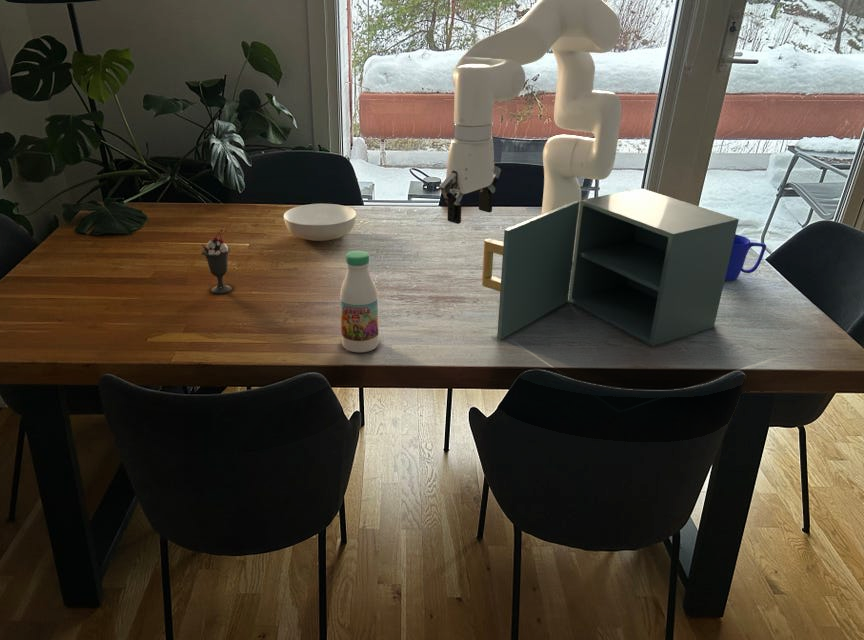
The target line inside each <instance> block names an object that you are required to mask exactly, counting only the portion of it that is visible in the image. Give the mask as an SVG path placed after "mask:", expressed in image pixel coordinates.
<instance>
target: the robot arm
mask: <svg viewBox="0 0 864 640" xmlns="http://www.w3.org/2000/svg"><path fill="white" fill-rule="evenodd" d="M621 30H622V29H621V21H620V18H619V15H618V14H617V13H616V11H615V10H614V9H613V8H611V6H610V5H609V4H608V3H606V2H605V0H538V1H536V3H535V4H534V5H533V6H532V7H531V8H530V9H529V10H528V12H526V14H524V15H523V17H521V18H520V19H519V21H518V22H517V23H516V24H514V25H512V26H510V27H507V28H505V29H502V30H500V31H497V32H496V33H493V34H491V35H488V36H485V37H484V38H482V39H479V40H478V41H477V42H475V43H474V44H473V45H471V46H470V48H469V49H468V50H467V51H466V52H464V54H463V55H462V56H461V57H460V59H458V61H457V64H456V66H455V68H454V71H453V75H452V83H453V87H454V93H453V94H454V97H453V98H454V99H453V102H454V103H453V107H454V108H453V140H451V141H450V144H449V149H448V153H447V154H448V156H447V160H446V161H447V162H446V173H445V179H444V180H443V181H442V183H441V184H439V190H440V192H441V194H442V195H441V197H442V199H444V200H445V203H447V222H449V223H453V224H457V225H459V224H461V223H462V204H461V200H462V199H463V197H464V195H465V194H469V193H472V192H475V191H478V190H479V193H478V210H479V211H482V212H485V213H492V212H493V200H494V193H495V192H496V186H497V184H498V183H499V178H500V175H501V171H502V169H501V168H500V167H498V166H496V165H495V148H494V139H493V123H494V119H493V118H494V103H495V102H503V101H504V102H506V101H511V100H513V99H515V98H517V97H518V96H519V95H520V94H521V93H522V91H523V89H524V87H525V83H526V73H525V70H524V67H523V66H526V65H529V64H532V63H536V62H537V61H539V60H541V59H543V58H544V56H545V55H546V54H547V52H549V50H550V49H551V52H552V54H553V55H554V58H555V60H556V64H557V79H556V87H555V88H556V90H555V98H554V105H553V107H554V108H553V120H554V124H555V125H556V127H558V128H560V129H563V130H568V131H574V132H580V133H581V132H582V133H592V134H593V136H594V138H593V137H586V136H585V137H584V136H578V135H571V134H559V135H555V136H552V137H550V138H548V140H547V141H546V142H545V144H544V147H543V149H542V164H543V176H544V178H543V195H542V205H541V214H540V215H542V214H544V213H547V212H549V211H552V210H554V209H557V208H559V207H562V206H564V205H567V204H569V203H571V202H574V201H579V208H580V200H582V189H581V185H580V182H579V179H578V178H581V179H588V180H595V181H596V180H597V181H600V180H605V179H607V178H608V177H609V176H610V175H611V174H612V171H613V169H614V165H615V161H616V155H617V149H618V148H617V147H618V143H619V135H620V129H621V120H622V111H623V109H622V108H623V107H622V101H621V99H620V97H619V96H618V95H617V94H616V93H615V92H611V91H606V90H596V89H594V83H595V82H594V81H595V73H596V65H595V61H594V58H593V56H592V55H591V53H594V54H595V53H596V54H606V53H609V52H610V51H611V50H613V49H614V48H615V47H616V45H617V44H618V41H619V39H620V37H621ZM455 194H456V196H455ZM578 216H579V210H578ZM577 225H578V218H577ZM576 233H577V227H576ZM575 242H576V235H575ZM574 250H575V244H574ZM573 258H574V252H573ZM572 264H573V261H572Z"/></svg>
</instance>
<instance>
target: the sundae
mask: <svg viewBox="0 0 864 640" xmlns="http://www.w3.org/2000/svg"><path fill="white" fill-rule="evenodd" d="M223 231H224V229H219V232H218V234H217V235H215V236H213V238H212V239H210V240H209V241H208V242H207V243H206V245H205V244H203V243H202V244H201V246H202V247H203V250H202V251H201V255H203V256H205V258H206V261H207V265H208V269H209V271H210V273H211V275H212V276H214V277H216V279H217V285H216V286H213V287H212V288H211V290H210V291H211V292H212V293H213V294H221V295H222V294H226V293H229V292H231V291H232V289H233V288H232V287H231V286H230V285H228V284H227V285H226V284H225V283H224V280H223V277H224V276H225V275H226V273H228V266H229V265H228V264H229V263H228V261H229V260H228V258H229V253H230V252H231V248H229V247H228V245H227V244H226V243H225V240H224V239H223V238H222V233H223ZM218 236H219V237H220V238H219V237H218ZM217 286H218V287H217ZM223 286H224V287H223ZM220 287H222V288H220Z"/></svg>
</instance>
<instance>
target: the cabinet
mask: <svg viewBox="0 0 864 640" xmlns="http://www.w3.org/2000/svg"><path fill="white" fill-rule="evenodd" d="M739 221H740V219H739V218H737V217H733V216H731V215H727V214H724V213H721V212H718V211H715V210H711V209H708V208H705V207H702V206H699V205H695V204H693V203H689V202H687V201H683V200H680V199H676V198H673V197H671V196H667V195H663V194H661V193H658V192H655V191H652V190H648V189H645V188H637V189H631V190H625V191H621V192H616V193H610V194H605V195H600V196H595V197H594V196H593V197H588V198H584V199H581V200H580V208H579V216H578V225H577V233H576V242H575V250H574V258H573V263H572V269H571V277H570V286H569V294H568V302H570V303H572V304H574V305H575V306H577V307H579V308H581V309H583V310H584V311H587V312H588V313H591V314H592V315H594V316H596V317H598V318H600V319H602V321H605V322H607V323H609V324H611V325H612V326H615V327H616V328H618V329H619V330H622V331H624V332H626V333H627V334H629V335H630V336H633V337H635V338H637V339H639V340H640V341H643V342H644V343H646V344H648V345H649V346H652V347H653V346H657V345H661V344H665V343H666V342H670V341H674V340H676V339H680V338H682V337H686V336H690V335H692V334H696V333H699V332H702V331H705V330H709V329H712V328H714V327H715V324H716V319H717V315H718V312H719V308H720V303H721V300H722V299H721V298H722V295H723V290H724V286H725V282H726V281H725V277H726V273H727V268H728V264H729V260H730V255H731V251H732V247H733V242H734V238H735V234H736V233H737V229H738V224H739ZM736 235H737V234H736Z"/></svg>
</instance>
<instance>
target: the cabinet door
mask: <svg viewBox="0 0 864 640" xmlns="http://www.w3.org/2000/svg"><path fill="white" fill-rule="evenodd" d="M578 210H579V201H574V202H571V203H569V204H567V205H564V206H562V207H559V208H557V209H554V210H552V211H549V212H547V213H544V214H542V213H541V214H542V215H541V214H540V215H537V216H534V217H533V218H532V217H531V218H530V219H527V220H524V221H523V222H520V223H518V224H514V225H512V226H510V227H507V228H505V229H504V231H503V241H500V240H496V239H493V238H485V239H484V241H483V257H482V275H481V276H482V277H481V286H482V287H485V288H487V289H491V290H494V291H497V292H498V293H499V306H498V316H497V317H498V318H497V319H498V321H497V333H496V335H497V336H496V339H499V340H503V339H504V338H506V337H507V336H509V335H511V334H513V333H515V332H516V331H518V330H520V329H522V328H524V327H525V326H527V325H529V324H530V323H532V322H534V321H536V320H537V319H540V318H541V317H543V316H545V315H547V314H548V313H550V312H552V311H554V310H556V309H558V308H559V307H561V306H563V305H564V304H566V303H568V302H569V301H568V300H569V292H570V284H571V275H572V267H573V263H572V261H573V252H574V244H575V235H576V227H577V218H578ZM494 254H497V255H500V256H502V259H501V260H502V261H501V274H500V277H497V276H494V275H493V265H494Z"/></svg>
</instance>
